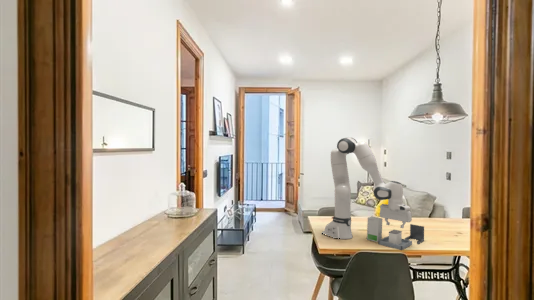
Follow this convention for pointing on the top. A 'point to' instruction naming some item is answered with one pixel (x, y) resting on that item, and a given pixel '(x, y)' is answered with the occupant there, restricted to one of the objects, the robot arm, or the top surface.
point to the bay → (416, 233)
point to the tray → (401, 246)
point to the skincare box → (374, 229)
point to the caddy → (395, 237)
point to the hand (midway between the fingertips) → (394, 226)
